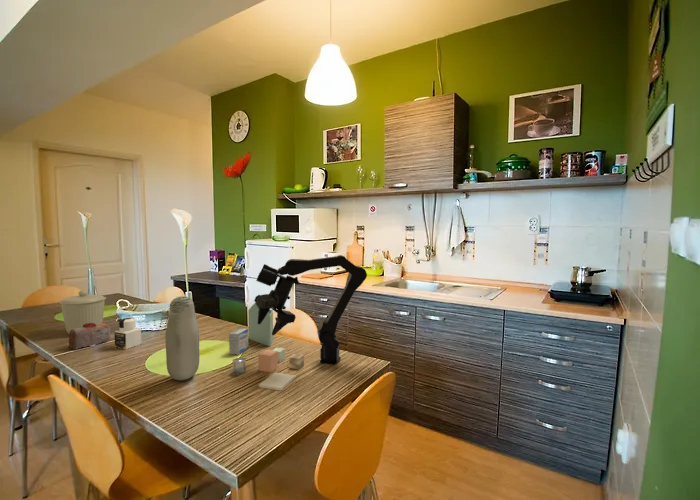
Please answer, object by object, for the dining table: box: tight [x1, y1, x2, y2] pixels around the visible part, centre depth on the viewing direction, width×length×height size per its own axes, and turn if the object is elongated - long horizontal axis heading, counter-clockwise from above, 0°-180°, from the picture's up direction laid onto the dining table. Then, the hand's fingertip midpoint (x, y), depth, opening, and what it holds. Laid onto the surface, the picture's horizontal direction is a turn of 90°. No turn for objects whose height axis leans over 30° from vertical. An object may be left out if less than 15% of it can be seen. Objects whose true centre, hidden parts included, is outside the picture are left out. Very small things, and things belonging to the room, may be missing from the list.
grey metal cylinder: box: [232, 357, 247, 376], centre depth 120 cm, size 4×4×4 cm
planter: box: [247, 301, 274, 347], centre depth 155 cm, size 16×8×20 cm, turn 49°
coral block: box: [257, 349, 279, 373], centre depth 123 cm, size 5×5×6 cm
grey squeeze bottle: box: [164, 296, 200, 381], centre depth 114 cm, size 10×10×28 cm
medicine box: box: [228, 328, 249, 356], centre depth 141 cm, size 8×4×9 cm, turn 168°
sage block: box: [272, 347, 286, 363], centre depth 132 cm, size 4×4×4 cm
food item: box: [68, 322, 111, 350], centre depth 149 cm, size 14×8×10 cm, turn 154°
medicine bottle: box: [114, 317, 142, 350], centre depth 147 cm, size 7×7×12 cm
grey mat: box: [258, 372, 296, 391], centre depth 112 cm, size 8×10×1 cm
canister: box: [58, 289, 107, 335], centre depth 166 cm, size 18×18×21 cm
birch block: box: [288, 353, 305, 370], centre depth 125 cm, size 4×4×4 cm
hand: (265, 329), depth 126 cm, fingers open, 9 cm apart
